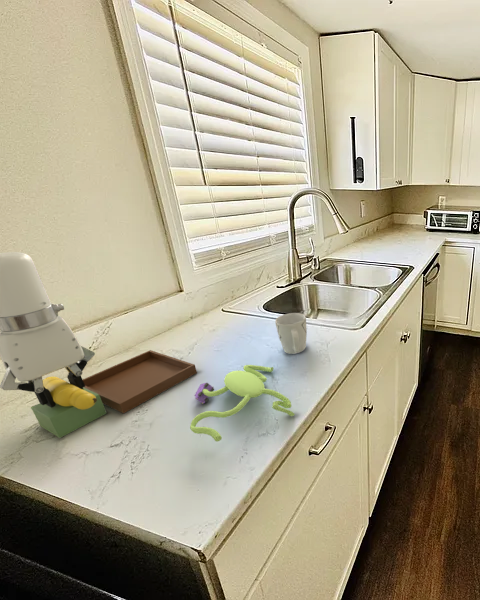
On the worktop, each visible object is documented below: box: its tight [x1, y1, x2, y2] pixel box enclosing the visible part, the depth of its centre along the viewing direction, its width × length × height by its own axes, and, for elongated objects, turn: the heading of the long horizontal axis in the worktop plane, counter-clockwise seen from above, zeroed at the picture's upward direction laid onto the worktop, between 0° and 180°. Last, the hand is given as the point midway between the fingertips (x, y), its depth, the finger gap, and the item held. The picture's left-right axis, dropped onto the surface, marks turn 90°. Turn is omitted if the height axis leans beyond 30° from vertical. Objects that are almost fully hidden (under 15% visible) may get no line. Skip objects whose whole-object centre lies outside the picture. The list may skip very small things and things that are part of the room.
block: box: [30, 387, 108, 439], centre depth 69 cm, size 8×8×5 cm
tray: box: [82, 349, 198, 414], centre depth 82 cm, size 19×17×3 cm
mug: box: [274, 312, 308, 355], centre depth 94 cm, size 11×8×10 cm
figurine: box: [189, 364, 295, 442], centre depth 73 cm, size 18×27×6 cm
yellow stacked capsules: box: [42, 376, 97, 410], centre depth 68 cm, size 17×4×4 cm, turn 65°
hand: (65, 397), depth 68 cm, fingers closed on yellow stacked capsules, 4 cm apart
